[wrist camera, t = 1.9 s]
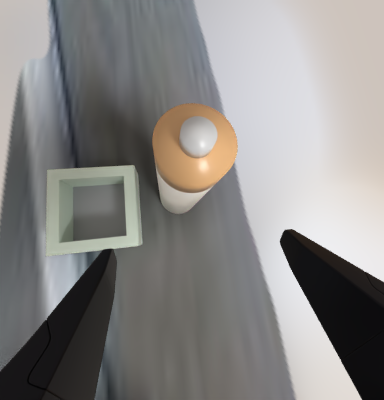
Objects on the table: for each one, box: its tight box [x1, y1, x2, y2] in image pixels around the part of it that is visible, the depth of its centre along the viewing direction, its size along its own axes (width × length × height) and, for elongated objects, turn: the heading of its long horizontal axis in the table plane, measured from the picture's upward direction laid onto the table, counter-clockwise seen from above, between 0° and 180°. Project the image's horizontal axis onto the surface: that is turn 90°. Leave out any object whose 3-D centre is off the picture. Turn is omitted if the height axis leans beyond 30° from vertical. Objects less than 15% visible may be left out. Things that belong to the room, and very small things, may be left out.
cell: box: [152, 103, 238, 214], centre depth 15 cm, size 4×4×14 cm
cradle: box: [46, 165, 143, 256], centre depth 19 cm, size 8×8×3 cm
